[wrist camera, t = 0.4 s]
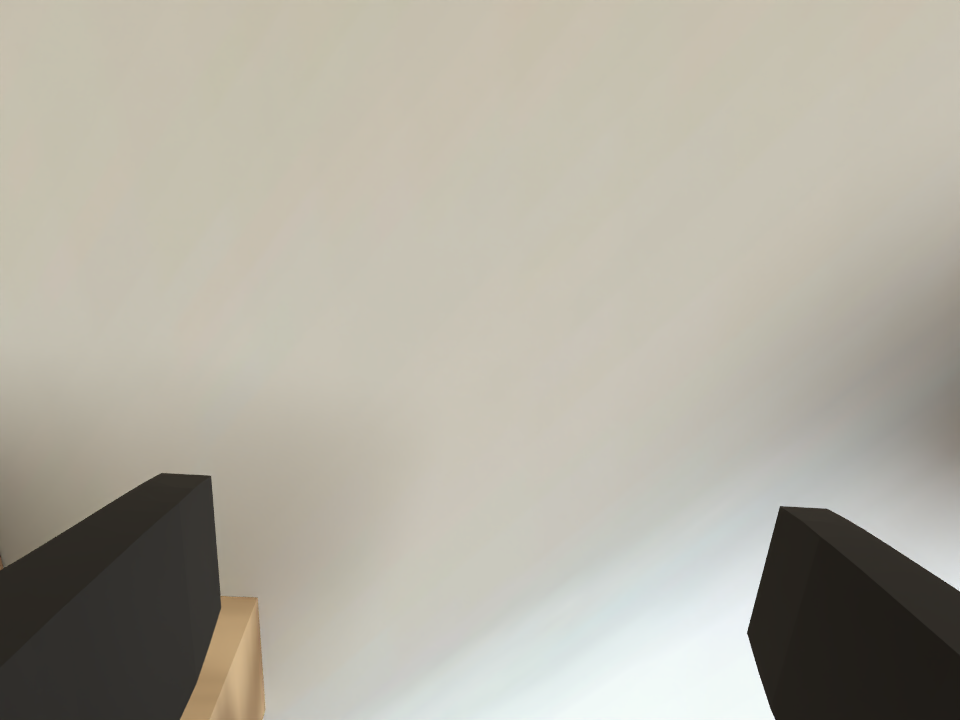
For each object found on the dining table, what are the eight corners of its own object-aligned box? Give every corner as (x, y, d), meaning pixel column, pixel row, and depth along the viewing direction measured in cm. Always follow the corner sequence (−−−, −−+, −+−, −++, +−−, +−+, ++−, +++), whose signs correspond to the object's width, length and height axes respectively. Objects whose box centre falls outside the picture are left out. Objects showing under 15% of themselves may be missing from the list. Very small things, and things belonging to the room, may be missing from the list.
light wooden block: (265, 708, 24) (216, 865, 19) (123, 703, 24) (39, 861, 19) (258, 596, 22) (201, 740, 18) (105, 589, 22) (7, 733, 17)
